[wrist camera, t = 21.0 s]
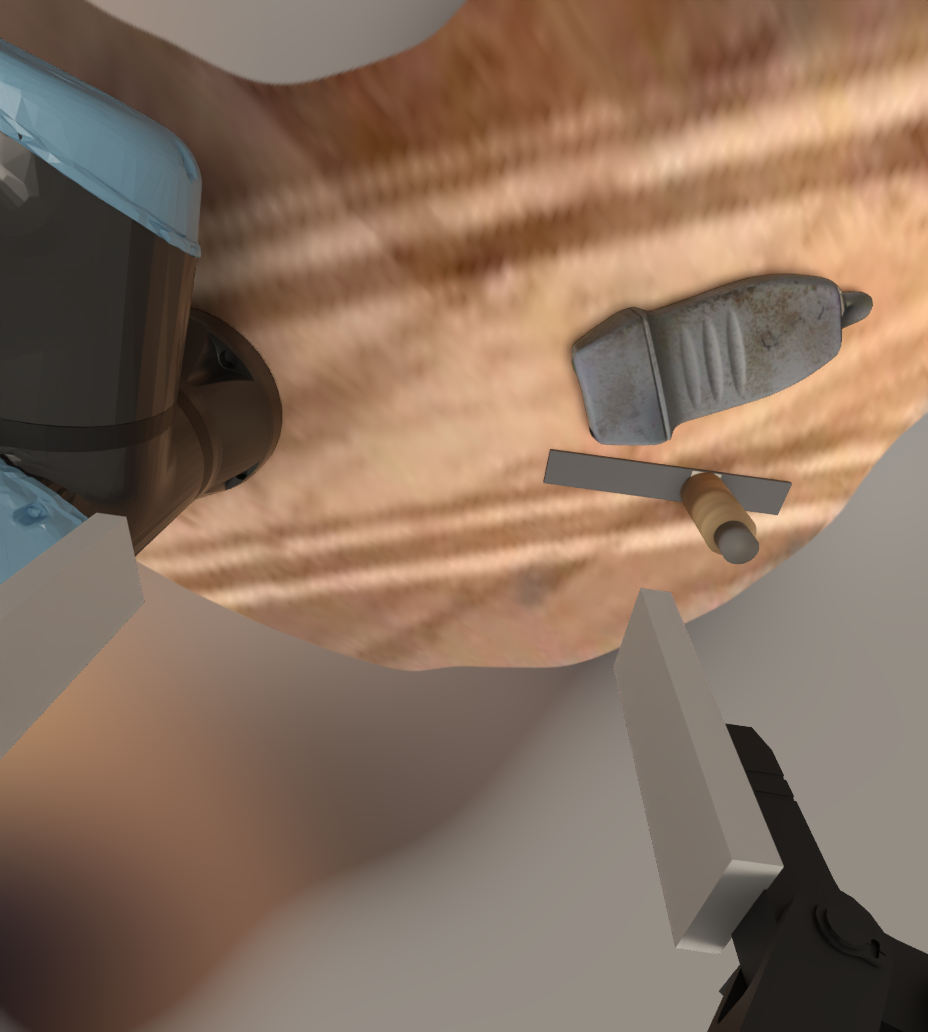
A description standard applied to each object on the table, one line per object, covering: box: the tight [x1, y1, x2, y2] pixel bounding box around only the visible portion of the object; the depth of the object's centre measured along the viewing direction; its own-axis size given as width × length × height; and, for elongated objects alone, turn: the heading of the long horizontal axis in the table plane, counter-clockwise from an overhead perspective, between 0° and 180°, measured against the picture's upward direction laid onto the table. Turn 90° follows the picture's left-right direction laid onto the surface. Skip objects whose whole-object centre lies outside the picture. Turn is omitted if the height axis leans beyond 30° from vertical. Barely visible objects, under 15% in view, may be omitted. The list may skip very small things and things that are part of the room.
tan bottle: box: [680, 472, 759, 564], centre depth 42 cm, size 4×4×9 cm
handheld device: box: [572, 274, 873, 446], centre depth 39 cm, size 10×20×5 cm, turn 111°
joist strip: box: [544, 449, 792, 515], centre depth 46 cm, size 20×3×1 cm, turn 83°
